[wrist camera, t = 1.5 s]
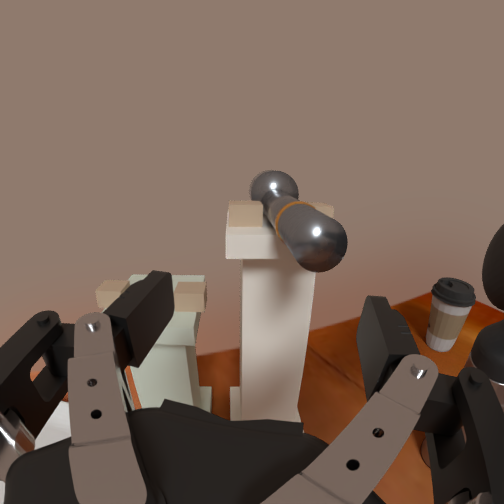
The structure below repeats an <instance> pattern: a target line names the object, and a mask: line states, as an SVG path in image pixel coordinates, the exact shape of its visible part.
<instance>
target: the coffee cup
mask: <svg viewBox="0 0 504 504" xmlns="http://www.w3.org/2000/svg"><path fill="white" fill-rule="evenodd" d="M431 292H432V294H433V297H432V304H431V311H430V317H429V323H428V329H427V334H426V343H427V345H428V346H429V347H430V348H432V349H433V350H436V351H440V352H445V351H448V350H450V349H451V347H452V346H453V344H454V342H455V341H456V339H457V337H458V335H459V333H460V330H461V328H462V326H463V324H464V322H465V320H466V318H467V315H468V313H469V311H470V309H471V306H473V305H474V304H475V299H476V296H475V294H474V288H473V287H472V286H471V285H470V284H468V283H466V282H464V281H462V280H459V279H454V278H441V279H439V280H438V282H437V283H436V284H434V286H433V289H432V290H431Z"/></svg>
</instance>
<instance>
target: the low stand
mask: <svg viewBox="0 0 504 504" xmlns="http://www.w3.org/2000/svg"><path fill="white" fill-rule="evenodd" d="M146 276H147V275H132V276H131V277H130V278H129V279H128V280H127V281H124V280H105V281H104V282H103V283H102V284H101V285H100V286H99V287H98V288H97V289H96V290H95V292H96V297H97V302H98V307H99V308H105V309H104V310H103V311H102V313H103V312H104V311H105V310H106V309H107V308H108V307H109V306H110V305H111V304H112V303H113V302H114V301H115V300H116V299H117V298H119V296H120V295H121V294H122V293H123V292H125V290H126V289H127V288H128V287H129V286H130V285H131V284H133V283H135V282H137V281H139V280H143V279H144V278H145V277H146ZM172 282H173V293H174V303H175V309H174V314H173V317H172V319H171V320H170V322H169V323H168V325H167V326H166V328H165V329H164V331H163V332H162V334H161V335H160V337H159V338H158V340H157V341H156V343H155V344H154V346H153V347H152V349H151V350H150V352H149V353H148V355H147V356H146V358H145V359H144V361H143V362H142V364H141V365H140V367H139V368H136V367H132V366H130V368H131V372H132V375H133V379H134V383H135V386H136V390H137V393H138V396H139V400H140V403H141V406H142V408H149V407H161V405H162V403H163V401H164V399H168V400H172V401H176V402H180V403H184V404H188V405H192V406H196V407H199V408H201V409H203V410H205V411H207V412H210V413H211V408H212V387H206V386H199V378H198V369H197V359H196V349H195V343H196V337H197V331H198V326H199V320H200V315H201V312H205V307H206V301H207V289H206V282H205V276H203V275H202V276H201V275H200V276H198V275H172Z"/></svg>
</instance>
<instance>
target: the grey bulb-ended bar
mask: <svg viewBox="0 0 504 504" xmlns="http://www.w3.org/2000/svg"><path fill="white" fill-rule="evenodd" d="M249 194H250V198H251V200H252V201H260V202H261V203H262V204H263V215H265V216H267V218H268V219H269V221H270V222H271V224H272V225H273V227H274V228H275V230H276V233H277V235H278V237H279V238H280V240H281V241H282V242H283V243H284V244H286V246H287V247H288V249H289V250H290V252H291V253H292V255H293V256H294V258H295V259H296V261H297V262H298V264H299V265H300V266H301V267H303V268H304V269H306V270H308V271H311V272H325V271H328V270H330V269H332V268H334V267H335V266H336V265H338V263H340V261H341V260H342V259H343V257H344V255H345V253H346V249H347V235H346V232H345V230H344V228H343V227H342V225H341V224H340V223H339V222H337V221H336V220H334V219H333V218H331V217H329V216H327V215H325V214H324V213H322V212H320V211H318V210H317V209H316V208H315V207H313V206H312V205H310V204H308V203H306V202H302V201H299V200H298V195H299V194H298V187H297V185H296V183H295V181H294V180H293V179H292V178H291V177H290V176H289V175H288V174H286V173H284V172H281V171H273V170H268V171H263V172H261V173H259V174H258V175H257V176H256V177H255V178H254V179H253V180H252V182H251V184H250V189H249Z"/></svg>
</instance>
